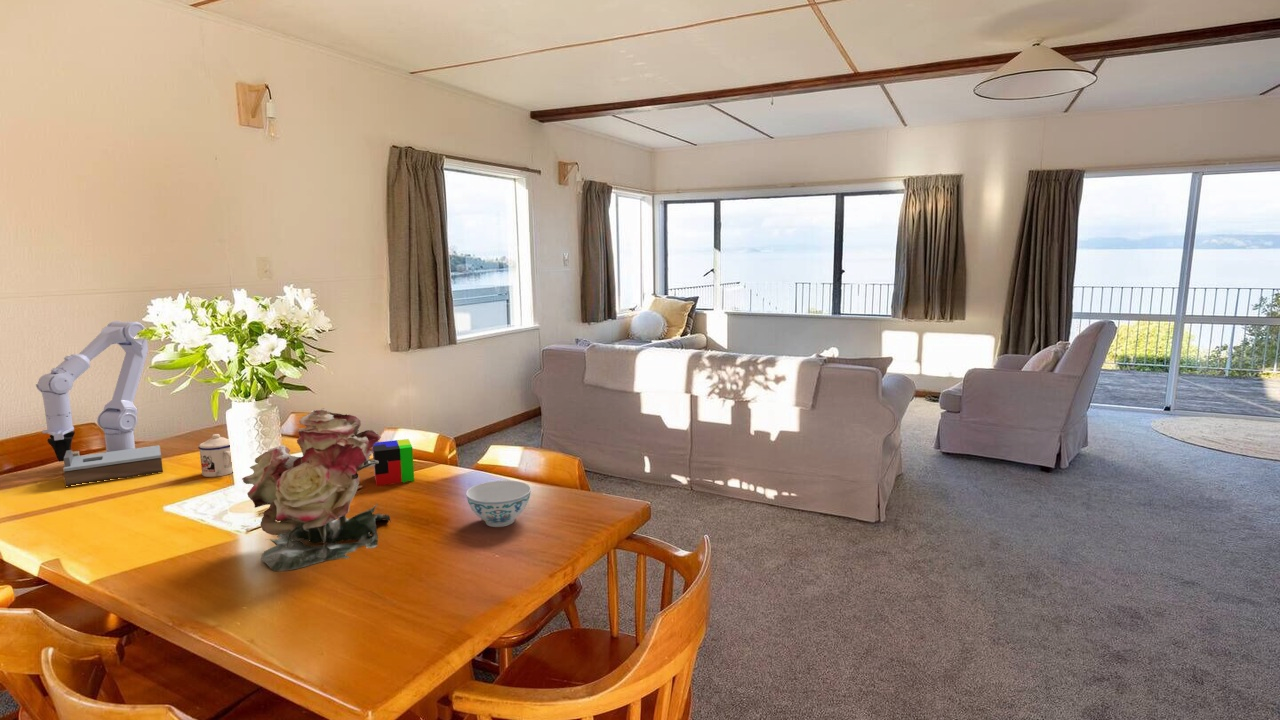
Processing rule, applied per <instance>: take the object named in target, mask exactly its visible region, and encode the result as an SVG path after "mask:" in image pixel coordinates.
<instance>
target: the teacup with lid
mask: <svg viewBox="0 0 1280 720" xmlns="http://www.w3.org/2000/svg"><path fill="white" fill-rule="evenodd" d="M229 439H230V438H226V437H224V436H221V435H220V434H219V433H214V434H212V435H211V438H209V439H207V440H206V441H204V442H202V443H200V444H199V445H198V449H199V455H200V464H201V465H200V468H201V475H202V476H203V477H205V478H217V477H224V476H227V475H231V474H233V473H232V462H231V452H230V445H229Z"/></svg>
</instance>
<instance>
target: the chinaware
mask: <svg viewBox="0 0 1280 720" xmlns="http://www.w3.org/2000/svg"><path fill="white" fill-rule="evenodd" d="M531 492H532V487H531V486H530V485H529V484H527V483H525V482H522V481H517V480H494V481H486V482H482V483H479V484H477V485H473V486H471V487H470V488H468V489H467V490H466V493H465V495H466V499H467V502H468V505H469V507H470V509H471V511H472V512H473V514H474V515H476V517H478V518H479V519H481V520H483V521H485V522H484V523H485V525H487V526H489V527H491V528H502V527H507V526H510V525H511V524H512V525H513V523H514V522H515V519H516V518H517V517H519V516H520V515H521V514H522V512H523V511H524V510H525V509H526V507H527V506H528V503H529V500H530V496H531Z"/></svg>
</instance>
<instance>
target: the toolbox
mask: <svg viewBox="0 0 1280 720" xmlns="http://www.w3.org/2000/svg"><path fill="white" fill-rule="evenodd" d="M98 460H102V459H98ZM91 461H96V460H91ZM162 461H163V460H162V457H161V458H155V459H148V460H141V461H134V462H127V463H120V464H113V465H106V466H99V467H92V468H85V469H78V470H71V471H63V477H64V484H65V485H64V486H65V487H66V486H71V485H76V484H82V483H89V482H97V481H104V480H110V479H118V478H125V479H128V478H127V477H131V478H134V477H133V476H138V475H144V476H147V475H146V474H151V475H153V474H152V473H157V474H159V473H158V472H163V473H164V470H163V462H162ZM83 462H88V461H83ZM138 477H139V476H138ZM118 480H119V479H118Z"/></svg>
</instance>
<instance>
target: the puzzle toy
mask: <svg viewBox="0 0 1280 720" xmlns="http://www.w3.org/2000/svg"><path fill="white" fill-rule="evenodd" d="M372 452H373V453H372V458H373V459H372V460H377V461H379V463H377V464H375V465H374V466H373V474H374V476H375V477H374V480H375V485H376V487H379V485H381V486H386V485H385V484H388V485H393V484H392V483H396V484H401V483H400V482H403V483H407V482H406V481H411V482H415V472H414V471H415V470H414V469H415V468H414V467H415V466H414V452H413V446H412V443H411V441H410V439H409V438H406V439H405V438H404V439H396V440H394V439H393V440H385V441H378V442H377V443H375V444H374V445H373V446H372Z"/></svg>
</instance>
